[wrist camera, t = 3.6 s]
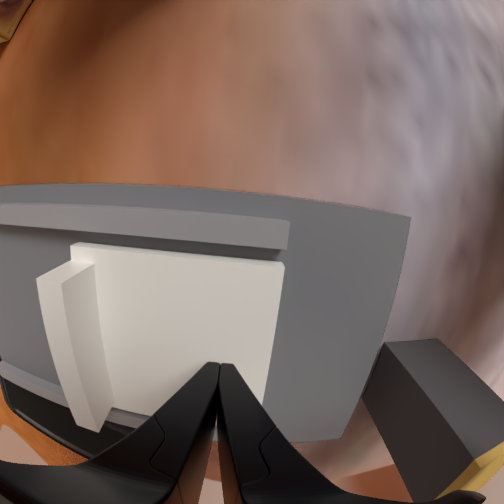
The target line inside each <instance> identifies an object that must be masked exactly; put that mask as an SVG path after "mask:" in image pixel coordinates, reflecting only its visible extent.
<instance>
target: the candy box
mask: <svg viewBox="0 0 504 504" xmlns="http://www.w3.org/2000/svg"><path fill="white" fill-rule="evenodd" d="M31 2H32V0H0V43H2V42H6V41H9V40H10V39H11V37H12V35H13V33H14V31H15V29H16V27H17V25H18V23H19V21H20V19H21V18H22V16H23V14H24V13H25V11H26V10H27V8H28V6H29V5H30V3H31Z"/></svg>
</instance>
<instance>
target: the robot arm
mask: <svg viewBox="0 0 504 504" xmlns="http://www.w3.org/2000/svg"><path fill="white" fill-rule="evenodd" d="M216 419H217V440H218V451H219V461H220V471H221V480H222V489H223V497H224V504H482V503H483V502H484V501H485V499H486V497H485V496H484V495H482V494H480V493H477V492H475V491H469V490H455V491H452V492H450V493H448V494H446V495H444V496H442V497H440V498H438V499H435V500H432V501H428V502H420V503H408V502H398V501H391V500H384V499H377V498H372V497H367V496H362V495H357V494H353V493H349V492H346V491H344V490H342V489H340V488H339V487H337V486H335V485H334V484H333V483H331V482H330V481H329V480H328V479H327V478H326V477H325V476H324V475H322V474H321V473H320V472H319V471H318V470H317V469H316V468H315V467H313V466H312V465H311V464H310V463H309V462H308V461H307V460H306V459H305V458H304V457H303V456H302V455H301V454H300V453H299V452H298V451H297V450H296V449H295V448H294V447H293V446H292V445H291V444H290V443H289V441H288V440H287V439H286V438H285V436H284V435H283V434H282V433H281V431H280V430H279V428H278V427H276V425H275V423H274V422H273V421H272V419H271V418H270V416H269V415H268V414H267V412H266V411H265V409H264V408H263V407H262V405H261V404H260V402H259V401H258V399H257V398H256V397H255V395H254V394H253V392H252V391H251V389H250V388H249V386H248V385H247V383H246V382H245V380H244V379H243V377H242V376H241V374H240V373H239V371H238V370H237V368H236V367H235V365H234V364H232V363H221V365H220V363H219V362H210V361H208V362H206V363H205V364H204V365H203V366H202V367H201V368H200V369H199V370H198V371H197V372H196V373H195V374H194V375H193V376H192V377H191V378H190V379H189V380H188V381H187V382H186V383H185V384H184V385H183V386H182V387H181V388H180V389H179V390H178V391H177V392H176V393H175V394H174V395H173V396H172V397H171V398H170V399H168V400H167V401H166V402H165V403H164V404H163V405H162V406H161V407H160V408H159V409H158V410H157V411H156V412H155V413H154V414H153V416H150V417H149V418H148V419H147V420H146V421H145V422H144V423H142V424H141V425H140V426H139V427H138V428H136V429H135V430H134V431H133V432H131V433H130V434H129V435H127V436H126V437H124V438H123V439H121V440H120V441H118V442H117V443H115V444H114V445H112V446H111V447H109V448H108V449H106V450H104V451H103V452H101V453H100V454H98V455H96V456H95V457H93V458H91V459H89V460H88V461H85V462H83V463H80V464H77V465H72V466H46V465H28V464H17V463H11V462H5V461H2V460H0V504H198V502H199V497H200V493H201V489H202V484H203V480H204V476H205V471H206V467H207V463H208V458H209V454H210V449H211V445H212V441H213V436H214V432H215V427H216Z"/></svg>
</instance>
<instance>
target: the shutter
mask: <svg viewBox="0 0 504 504" xmlns="http://www.w3.org/2000/svg"><path fill="white" fill-rule="evenodd" d="M70 251H71V260H70V261H68V262H66V263H64V264H62V265H60V266H58V267H57V268H55V269H53V270H51V271H49V272H47V273H45V274H43V275H41V276H40V277H38V278H36V281H37V288H38V295H39V301H40V307H41V312H42V317H43V322H44V326H45V331H46V335H47V339H48V343H49V347H50V351H51V354H52V358H53V361H54V365H55V368H56V371H57V374H58V377H59V380H60V383H61V386H62V389H63V392H64V394H65V397H66V400H67V402H68V405H69V407H70V410H71V412H72V415H73V417H74V419H75V422H76V424H77V425H78V426H81V427H84V428H86V429H89V430H92V431H95V432H98V433H99V432H100V429H101V427H102V425H103V423H104V421H105V419H106V417H107V415H108V413H109V411H110V410H111V408H112V407H114V408H118V409H122V410H126V411H130V412H134V413H138V414H143V415H148V416H153V414H154V413H155V412H156V411H157V410H158V409H159V408H160V407H161V406H162V405H163V404H164V403H165V402H166V401H167V400H168V399H170V398H171V397H172V396H173V395H174V394H175V393H176V392H177V391H178V390H179V389H180V388H181V387H182V386H183V385H184V384H185V383H186V382H187V381H188V380H189V379H190V378H191V377H192V376H193V375H194V374H195V373H196V372H197V371H198V370H199V369H200V368H201V367H202V366H203V365H204V364H205V363H206V362H208V361H210V362H219V363H220V365H221V363H232V364H234V365H235V367H236V368H237V370H238V371H239V373H240V374H241V376H242V377H243V379H244V380H245V382H246V383H247V385H248V386H249V388H250V389H251V391H252V392H253V394H254V395H255V397H256V398H257V399H258V401H259V402H260V404H261V405H262V402H263V397H264V392H265V386H266V381H267V376H268V370H269V364H270V359H271V353H272V347H273V341H274V335H275V329H276V323H277V317H278V310H279V304H280V297H281V291H282V284H283V277H284V270H285V267H284V265H283V263H282V262H277V261H267V260H256V259H245V258H235V257H224V256H214V255H204V254H193V253H183V252H173V251H163V250H153V249H143V248H133V247H124V246H114V245H104V244H95V243H85V242H78V243H75V244H73V245H70ZM216 426H217V419H216Z"/></svg>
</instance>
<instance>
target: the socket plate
mask: <svg viewBox="0 0 504 504" xmlns="http://www.w3.org/2000/svg"><path fill="white" fill-rule="evenodd" d="M410 221H411V217H407V216H403V215H399V214H394V213H390V212H385V211H381V210H375V209H370V208H364V207H358V206H352V205H346V204H340V203H333V202H326V201H319V200H312V199H305V198H298V197H290V196H282V195H273V194H264V193H255V192H246V191H235V190H224V189H213V188H200V187H186V186H169V185H149V184H121V183H46V184H20V185H3V186H0V356H1V359H2V361H1V362H0V375H1V376H2V377H3V378H5V379H7V380H9V381H11V382H13V383H14V384H16V385H18V386H20V387H22V388H24V389H26V390H28V391H31V392H33V393H35V394H37V395H39V396H41V397H44V398H46V399H48V400H51V401H53V402H55V403H58V404H60V405H63V406H65V407H68V408H70V407H69V405H68V402H67V400H66V397H65V394H64V392H63V389H62V386H61V383H60V380H59V377H58V374H57V371H56V368H55V365H54V361H53V358H52V354H51V351H50V347H49V343H48V339H47V335H46V331H45V326H44V322H43V317H42V312H41V307H40V301H39V295H38V288H37V281H36V278H38V277H40V276H41V275H43V274H45V273H47V272H49V271H51V270H53V269H55V268H57V267H58V266H60V265H62V264H64V263H66V262H68V261H70V260H71V251H70V245H73V244H75V243H78V242H85V243H95V244H104V245H114V246H124V247H133V248H143V249H153V250H163V251H173V252H183V253H193V254H204V255H214V256H224V257H235V258H245V259H256V260H267V261H277V262H282V263H283V265H284V267H285V270H284V277H283V284H282V291H281V297H280V304H279V310H278V317H277V323H276V329H275V335H274V341H273V347H272V353H271V359H270V364H269V370H268V376H267V381H266V386H265V392H264V397H263V402H262V407H263V408H264V409H265V411H266V412H267V414H268V415H269V416H270V418H271V419H272V421H273V422H274V423H275V425H276V427H278V428H279V430H280V431H281V433H282V434H283V435H284V436H285V438H286V439H287V440H288V441H289V442H310V441H323V440H333V439H340V438H341V436H342V434H343V432H344V430H345V428H346V426H347V424H348V422H349V420H350V418H351V416H352V414H353V412H354V409H355V407H356V405H357V403H358V400H359V398H360V396H361V393H362V391H363V389H364V386H365V384H366V381H367V379H368V376H369V374H370V371H371V369H372V366H373V363H374V361H375V358H376V355H377V352H378V349H379V346H380V343H381V340H382V337H383V334H384V331H385V328H386V325H387V322H388V318H389V315H390V311H391V308H392V304H393V301H394V297H395V293H396V289H397V285H398V281H399V277H400V273H401V268H402V264H403V259H404V254H405V249H406V244H407V238H408V233H409V227H410ZM149 417H150V416H148V415H143V414H138V413H134V412H130V411H126V410H122V409H118V408H114V407H112V408H111V410H110V411H109V413H108V415H107V417H106V419H105V420H107V421H110V422H114V423H117V424H121V425H125V426H129V427H133V428H138V427H139V426H140V425H141V424H142V423H144V422H145V421H146V420H147V419H148V418H149ZM213 441H218V440H217V426H216V427H215V432H214V436H213Z"/></svg>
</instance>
